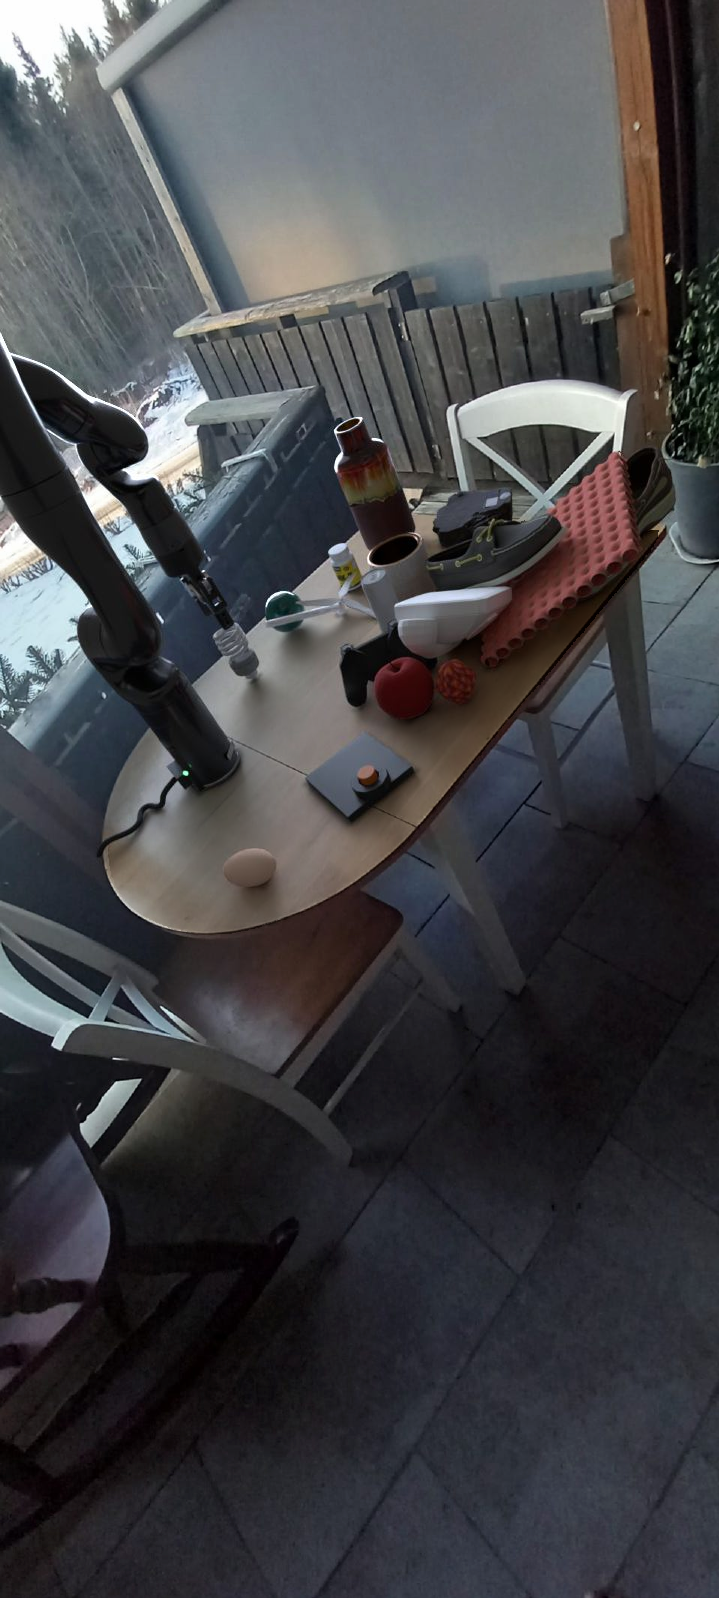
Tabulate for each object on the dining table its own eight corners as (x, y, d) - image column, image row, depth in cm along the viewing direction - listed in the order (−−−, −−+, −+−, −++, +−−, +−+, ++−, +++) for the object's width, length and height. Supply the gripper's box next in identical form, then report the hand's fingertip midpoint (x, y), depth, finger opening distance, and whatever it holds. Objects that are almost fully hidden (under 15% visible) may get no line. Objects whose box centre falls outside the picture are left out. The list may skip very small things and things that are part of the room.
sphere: (319, 615, 149) (302, 581, 143) (297, 641, 145) (279, 607, 140) (289, 615, 154) (272, 582, 148) (268, 640, 150) (249, 607, 145)
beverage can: (409, 621, 135) (387, 564, 127) (408, 637, 132) (385, 579, 124) (384, 628, 137) (361, 572, 129) (383, 644, 134) (358, 587, 126)
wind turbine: (256, 610, 147) (355, 586, 151) (279, 656, 138) (383, 629, 143) (254, 594, 144) (355, 570, 148) (277, 640, 135) (383, 613, 140)
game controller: (434, 663, 128) (409, 609, 126) (441, 665, 122) (415, 608, 119) (350, 706, 129) (323, 653, 127) (352, 711, 122) (324, 655, 120)
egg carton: (643, 554, 99) (633, 544, 98) (489, 670, 117) (480, 663, 117) (626, 456, 117) (617, 447, 116) (495, 570, 135) (487, 563, 134)
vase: (424, 548, 151) (380, 420, 134) (374, 570, 153) (323, 447, 135) (415, 526, 159) (371, 403, 142) (367, 547, 161) (318, 428, 144)
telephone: (434, 588, 129) (440, 642, 132) (376, 609, 114) (385, 670, 117) (522, 580, 120) (526, 638, 124) (472, 601, 105) (478, 667, 108)
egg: (265, 880, 99) (214, 889, 103) (286, 883, 104) (237, 892, 107) (262, 842, 101) (212, 852, 104) (283, 846, 105) (234, 856, 108)
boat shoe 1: (558, 555, 108) (525, 504, 106) (429, 623, 131) (399, 583, 128) (588, 518, 114) (558, 469, 111) (459, 590, 137) (432, 550, 134)
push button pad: (418, 774, 108) (411, 760, 106) (353, 825, 105) (345, 812, 103) (367, 737, 118) (360, 723, 116) (308, 783, 115) (300, 770, 113)
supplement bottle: (339, 593, 152) (323, 557, 147) (346, 579, 155) (330, 544, 149) (360, 589, 150) (344, 553, 144) (366, 575, 153) (351, 539, 147)
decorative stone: (485, 709, 111) (470, 668, 106) (442, 720, 114) (425, 680, 108) (484, 683, 116) (469, 642, 111) (442, 694, 118) (426, 654, 113)
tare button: (381, 777, 106) (377, 770, 105) (367, 788, 106) (363, 781, 105) (371, 770, 108) (367, 762, 107) (357, 780, 107) (353, 773, 106)
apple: (394, 737, 115) (371, 688, 108) (378, 706, 122) (356, 658, 115) (448, 710, 114) (429, 660, 108) (430, 681, 121) (410, 631, 114)
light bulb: (253, 666, 146) (224, 615, 138) (272, 670, 142) (242, 618, 134) (235, 685, 143) (203, 635, 135) (253, 689, 140) (222, 638, 132)
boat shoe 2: (580, 615, 118) (568, 548, 110) (519, 595, 127) (504, 532, 119) (711, 505, 125) (709, 434, 117) (645, 494, 134) (638, 427, 126)
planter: (431, 606, 136) (414, 561, 129) (377, 614, 141) (359, 571, 134) (444, 572, 142) (429, 526, 136) (392, 581, 147) (375, 538, 141)
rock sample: (462, 558, 143) (455, 535, 140) (419, 540, 155) (412, 518, 151) (533, 510, 145) (528, 486, 142) (486, 496, 157) (480, 473, 154)
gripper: (139, 544, 127) (189, 621, 138) (167, 563, 117) (218, 644, 128) (175, 520, 129) (221, 598, 140) (205, 537, 118) (253, 619, 129)
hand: (220, 620), depth 134 cm, fingers open, 8 cm apart
